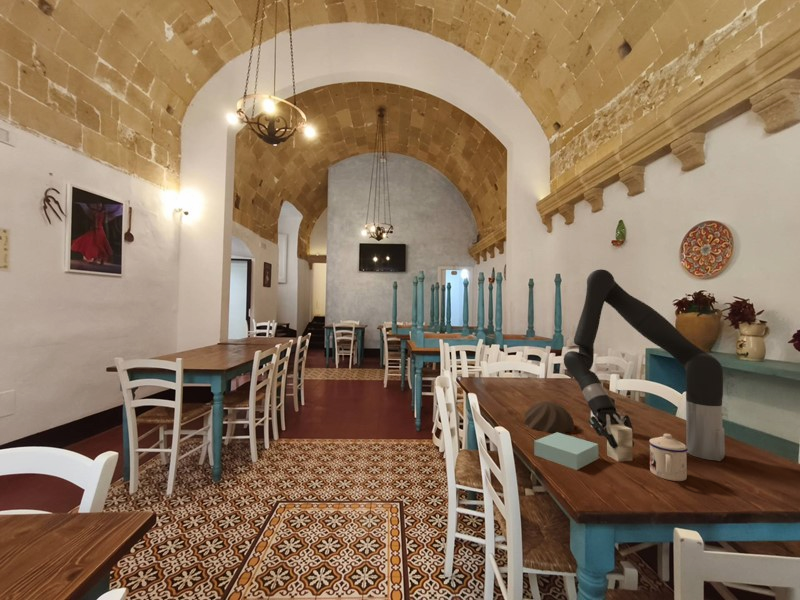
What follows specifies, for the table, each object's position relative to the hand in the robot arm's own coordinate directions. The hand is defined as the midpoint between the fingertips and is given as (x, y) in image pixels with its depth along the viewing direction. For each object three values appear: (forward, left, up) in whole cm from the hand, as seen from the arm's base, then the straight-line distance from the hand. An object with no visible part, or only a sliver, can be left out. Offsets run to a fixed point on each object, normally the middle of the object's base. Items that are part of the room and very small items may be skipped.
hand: (623, 446), depth 117 cm
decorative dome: (+33, -13, -5) cm, 36 cm away
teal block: (+13, +12, -5) cm, 18 cm away
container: (+17, -26, -4) cm, 31 cm away
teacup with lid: (-12, +2, -4) cm, 13 cm away
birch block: (+2, -1, -4) cm, 5 cm away
